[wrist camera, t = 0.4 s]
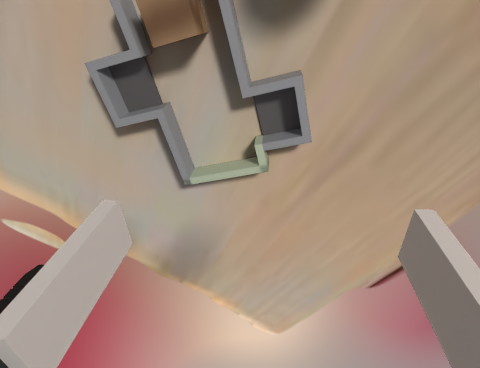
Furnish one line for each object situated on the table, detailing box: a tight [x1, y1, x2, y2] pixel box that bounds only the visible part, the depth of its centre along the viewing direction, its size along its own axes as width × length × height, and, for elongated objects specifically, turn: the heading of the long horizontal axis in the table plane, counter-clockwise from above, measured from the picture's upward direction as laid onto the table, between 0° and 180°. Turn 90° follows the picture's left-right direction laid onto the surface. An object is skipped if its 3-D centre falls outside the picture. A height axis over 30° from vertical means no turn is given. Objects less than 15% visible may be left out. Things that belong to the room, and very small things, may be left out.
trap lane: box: [85, 0, 312, 185], centre depth 35 cm, size 23×24×3 cm
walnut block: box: [136, 0, 208, 48], centre depth 30 cm, size 5×5×5 cm
